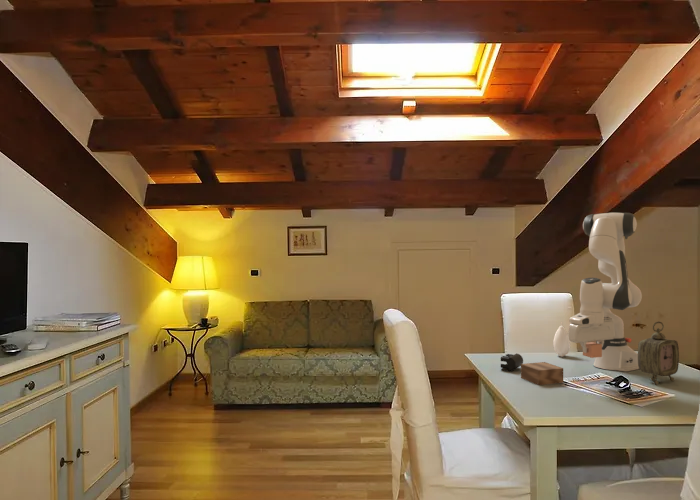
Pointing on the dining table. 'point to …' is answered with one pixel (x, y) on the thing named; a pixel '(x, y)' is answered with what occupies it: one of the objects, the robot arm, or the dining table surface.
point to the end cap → (511, 362)
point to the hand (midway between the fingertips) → (592, 351)
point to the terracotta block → (593, 350)
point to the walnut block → (542, 373)
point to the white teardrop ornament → (561, 341)
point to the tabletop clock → (658, 355)
